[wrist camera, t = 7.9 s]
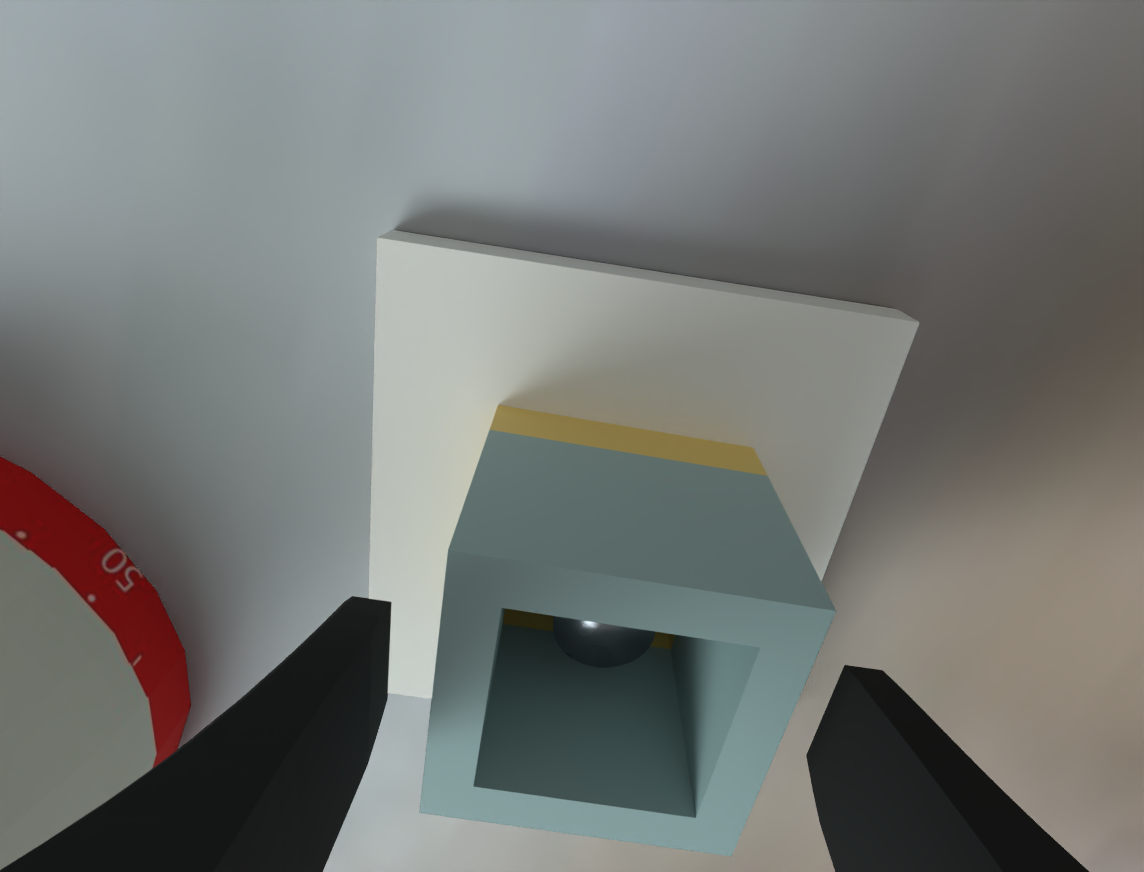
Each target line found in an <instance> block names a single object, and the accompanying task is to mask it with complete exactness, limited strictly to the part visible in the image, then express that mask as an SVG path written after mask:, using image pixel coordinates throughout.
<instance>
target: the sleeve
mask: <svg viewBox="0 0 1144 872" xmlns="http://www.w3.org/2000/svg"><path fill="white" fill-rule="evenodd" d="M835 612H836V610H835V608H834V606H833V604H832V602H831V600H830V598H829V596H828V594H827V592H826V590H825V588H824V586H823V584H822V582H821V580H820V578H819V576H818V574H817V572H816V570H815V568H814V567H813V565H812V563H811V561H810V559H809V557H808V555H807V553H806V551H805V549H804V547H803V545H802V543H801V541H800V539H799V537H798V535H797V533H796V531H795V529H794V527H793V525H792V523H791V521H790V519H789V517H788V515H787V513H786V511H785V509H784V507H783V505H782V503H781V501H780V499H779V497H778V495H777V493H776V491H775V489H774V487H773V485H772V484H771V482H770V480H769V478H768V476H767V474H766V472H765V470H764V468H763V466H762V464H761V462H760V460H759V458H758V456H757V454H756V452H755V450H754V448H752V447H746V446H741V445H735V444H729V443H723V442H717V441H711V440H705V439H699V438H693V437H687V436H681V435H675V434H669V433H663V432H657V431H651V430H645V429H639V428H633V427H627V426H621V425H615V424H609V423H604V422H598V421H592V420H586V419H580V418H574V417H568V416H562V415H556V414H550V413H544V412H538V411H532V410H526V409H520V408H514V407H508V406H502V405H498V406H497V409H496V412H495V415H494V418H493V421H492V424H491V427H490V430H489V432H488V435H487V438H486V441H485V444H484V447H483V450H482V453H481V456H480V459H479V461H478V464H477V467H476V470H475V473H474V476H473V479H472V482H471V485H470V488H469V490H468V493H467V496H466V499H465V502H464V505H463V508H462V511H461V514H460V517H459V519H458V522H457V525H456V528H455V531H454V534H453V537H452V540H451V543H450V546H449V548H448V554H447V563H446V573H445V582H444V591H443V600H442V609H441V618H440V628H439V637H438V646H437V655H436V664H435V673H434V683H433V692H432V701H431V710H430V719H429V728H428V738H427V747H426V756H425V765H424V774H423V783H422V792H421V802H420V811H419V813H424V814H432V815H439V816H446V817H453V818H460V819H468V820H475V821H482V822H489V823H496V824H503V825H511V826H518V827H525V828H532V829H539V830H547V831H554V832H561V833H568V834H575V835H583V836H590V837H597V838H604V839H611V840H618V841H626V842H633V843H640V844H647V845H654V846H662V847H669V848H676V849H683V850H690V851H698V852H705V853H712V854H719V855H726V856H732V853H733V851H734V849H735V846H736V844H737V842H738V839H739V837H740V835H741V832H742V830H743V828H744V825H745V823H746V821H747V818H748V816H749V814H750V811H751V809H752V806H753V804H754V802H755V799H756V797H757V795H758V792H759V790H760V788H761V785H762V783H763V781H764V778H765V776H766V774H767V771H768V769H769V767H770V764H771V762H772V760H773V757H774V755H775V753H776V750H777V748H778V746H779V743H780V741H781V739H782V736H783V734H784V732H785V729H786V727H787V725H788V722H789V720H790V718H791V715H792V713H793V711H794V708H795V706H796V704H797V701H798V699H799V697H800V694H801V692H802V690H803V687H804V685H805V683H806V680H807V678H808V676H809V673H810V671H811V668H812V666H813V664H814V661H815V659H816V657H817V654H818V652H819V650H820V647H821V645H822V643H823V640H824V638H825V636H826V633H827V631H828V629H829V626H830V624H831V622H832V619H833V617H834V615H835ZM554 616H558V617H564V618H571V619H577V620H584V621H590V622H597V623H603V624H610V625H616V626H623V627H629V628H636V629H642V630H649V631H655V637H654V639H653V642H652V644H651V645H650V647H649V648H648V649H647V650H646V652H645V653H644V654H642V655H641V656H640V657H639V658H637V659H635V660H634V661H632V662H629V663H627V664H624V665H621V666H616V667H594V666H589V665H585V664H582V663H580V662H578V661H576V660H574V659H572V658H571V657H569V656H568V655H567V654H566V653H565V652H564V651H563V650H562V649H561V648H560V647H559V645H558V643H557V641H556V639H555V636H554V632H553V620H554Z"/></svg>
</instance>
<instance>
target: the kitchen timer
mask: <svg viewBox="0 0 1144 872" xmlns="http://www.w3.org/2000/svg"><path fill="white" fill-rule="evenodd" d="M190 707H191V701H190V692H189V683H188V674H187V665H186V656H185V650H184V648H183V646H182V644H181V642H180V640H179V638H178V635H177V633H176V631H175V629H174V627H173V625H172V623H171V621H170V619H169V617H168V614H167V612H166V610H165V608H164V606H163V604H162V602H161V600H160V598H159V596H158V593H157V591H156V590H155V589H154V587H153V586H152V585H151V584H150V583H149V582H148V580H147V579H146V578H145V577H144V576H143V574H142V573H141V572H140V571H139V570H138V569H137V567H136V566H135V565H134V564H133V563H132V561H131V560H130V559H129V558H128V557H127V555H126V554H125V553H124V552H123V551H122V550H121V548H120V547H119V546H118V545H117V544H116V542H115V541H114V540H113V539H112V538H111V537H110V535H109V534H108V533H107V532H106V531H105V529H104V528H102V527H101V526H100V525H98V524H97V523H96V522H95V521H93V520H92V519H91V518H89V517H88V516H87V515H85V514H84V513H83V512H82V511H80V510H79V509H78V508H76V507H75V506H74V505H73V504H71V503H70V502H69V501H67V500H66V499H65V498H63V497H62V496H61V495H60V494H58V493H57V492H56V491H54V490H53V489H52V488H51V487H49V486H48V485H47V484H45V483H44V482H43V481H41V480H40V479H39V478H38V477H36V476H35V475H34V474H32V473H31V472H29V471H27V470H25V469H23V468H21V467H19V466H17V465H15V464H13V463H11V462H9V461H8V460H6V459H4V458H2V457H0V870H1V869H2V868H4V867H5V866H7V865H9V864H10V863H12V862H14V861H15V860H17V859H18V858H20V857H22V856H23V855H25V854H26V853H28V852H30V851H31V850H33V849H34V848H36V847H38V846H39V845H41V844H42V843H44V842H45V841H47V840H49V839H50V838H52V837H53V836H55V835H56V834H58V833H59V832H61V831H62V830H64V829H65V828H67V827H68V826H70V825H71V824H73V823H74V822H76V821H77V820H79V819H80V818H82V817H83V816H85V815H86V814H88V813H90V812H91V811H93V810H94V809H96V808H97V807H99V806H100V805H102V804H103V803H105V802H106V801H107V800H109V799H110V798H112V797H113V796H115V795H116V794H117V793H119V792H120V791H122V790H123V789H125V788H126V787H127V786H129V785H130V784H132V783H133V782H134V781H136V780H137V779H139V778H140V777H141V776H143V775H144V774H146V773H147V772H148V771H150V770H151V769H152V768H154V767H155V766H157V765H158V764H159V763H161V762H162V761H163V760H165V759H166V758H167V757H169V756H170V755H171V754H172V753H174V752H175V751H176V750H177V748H178V745H179V742H180V738H181V735H182V732H183V729H184V726H185V723H186V719H187V716H188V713H189V710H190Z"/></svg>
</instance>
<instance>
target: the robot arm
mask: <svg viewBox="0 0 1144 872" xmlns="http://www.w3.org/2000/svg"><path fill="white" fill-rule="evenodd" d="M391 603H392V602H389V601H382V600H375V599H368V598H361V597H354V596H352V597H351V598H349V599H348V600H346V601H345V602H344V603H343V604H342V605H341V606H340V607H339V608H338V609H337V610H336V611H335V612H334V613H333V614H332V615H331V616H330V617H329V618H328V619H327V620H326V621H325V622H324V623H323V624H322V625H321V626H320V627H319V628H318V629H317V630H316V631H315V632H314V633H312V634H311V635H310V636H309V637H308V638H307V639H306V640H305V641H304V642H303V643H302V644H301V645H300V646H299V647H298V648H297V649H296V650H295V651H293V652H292V653H291V654H290V655H289V656H288V657H287V658H286V659H285V660H284V661H283V662H282V663H280V664H279V665H278V666H277V667H276V668H275V669H274V670H273V671H271V672H270V673H269V674H268V675H267V676H266V677H265V678H264V679H262V680H261V681H260V682H259V683H258V684H257V685H256V686H255V687H254V688H252V689H251V690H250V691H249V692H248V693H247V694H246V695H244V696H243V697H242V698H241V699H240V700H239V701H237V702H236V703H235V704H234V705H232V706H231V707H230V708H229V709H228V710H226V711H225V712H224V713H223V714H221V715H220V716H219V717H218V718H216V719H215V720H214V721H213V722H212V723H210V724H209V725H208V726H207V727H205V728H204V729H203V730H202V731H200V732H199V733H198V734H197V735H196V736H194V737H193V738H192V739H191V740H189V741H188V742H187V743H186V744H184V745H183V746H182V747H180V748H179V749H178V750H176V751H175V752H174V753H172V754H171V755H170V756H169V757H167V758H166V759H165V760H163V761H162V762H161V763H159V764H158V765H157V766H155V767H154V768H152V769H151V770H150V771H148V772H147V773H146V774H144V775H143V776H141V777H140V778H139V779H137V780H136V781H134V782H133V783H132V784H130V785H129V786H127V787H126V788H125V789H123V790H122V791H120V792H119V793H117V794H116V795H115V796H113V797H112V798H110V799H109V800H107V801H106V802H105V803H103V804H102V805H100V806H99V807H97V808H96V809H94V810H93V811H91V812H90V813H88V814H86V815H85V816H83V817H82V818H80V819H79V820H77V821H76V822H74V823H73V824H71V825H70V826H68V827H67V828H65V829H64V830H62V831H61V832H59V833H58V834H56V835H55V836H53V837H52V838H50V839H49V840H47V841H45V842H44V843H42V844H41V845H39V846H38V847H36V848H34V849H33V850H31V851H30V852H28V853H26V854H25V855H23V856H22V857H20V858H18V859H17V860H15V861H14V862H12V863H10V864H9V865H7V866H5V867H4V868H2V869H1V870H0V872H323V869H324V867H325V865H326V862H327V860H328V858H329V855H330V853H331V851H332V848H333V846H334V843H335V841H336V839H337V836H338V834H339V832H340V829H341V827H342V825H343V822H344V820H345V817H346V815H347V813H348V810H349V808H350V806H351V803H352V801H353V798H354V796H355V794H356V791H357V789H358V786H359V784H360V782H361V779H362V777H363V774H364V772H365V769H366V767H367V765H368V762H369V758H370V755H371V752H372V749H373V746H374V742H375V739H376V736H377V733H378V729H379V726H380V722H381V719H382V716H383V712H384V709H385V705H386V702H387V697H388V674H389V650H390V626H391ZM806 756H807V761H808V767H809V772H810V777H811V783H812V788H813V793H814V798H815V802H816V807H817V812H818V816H819V821H820V825H821V828H822V831H823V834H824V838H825V841H826V844H827V847H828V850H829V853H830V856H831V859H832V862H833V866H834V869H835V872H1089V871H1088V870H1087V869H1086V868H1085V867H1083V866H1082V865H1081V864H1080V863H1079V862H1078V861H1077V860H1076V859H1075V858H1074V857H1073V856H1072V855H1070V854H1069V853H1068V852H1067V851H1066V850H1065V849H1064V848H1063V847H1062V846H1061V845H1060V844H1058V843H1057V842H1056V841H1055V840H1054V839H1053V838H1052V837H1051V836H1050V835H1049V834H1048V833H1047V832H1045V831H1044V830H1043V829H1042V828H1041V827H1040V826H1039V825H1038V824H1037V823H1036V822H1035V821H1034V820H1033V819H1032V818H1031V817H1030V816H1028V815H1027V814H1026V813H1025V812H1024V811H1023V810H1022V809H1021V808H1020V807H1019V806H1018V805H1017V804H1016V803H1015V802H1014V801H1013V800H1012V799H1011V798H1010V797H1009V796H1008V795H1007V794H1006V793H1005V792H1004V791H1003V790H1002V789H1001V788H1000V787H999V786H998V785H997V784H996V783H995V782H994V781H993V780H992V779H991V778H990V777H988V776H987V775H986V774H985V773H984V772H983V771H982V770H981V769H980V768H979V767H978V766H977V765H976V764H975V763H974V762H973V760H972V759H971V758H970V757H969V756H968V755H967V754H966V753H965V752H964V751H963V750H962V749H961V748H960V747H959V746H958V745H957V744H956V743H955V742H954V741H953V740H952V739H951V738H950V737H949V736H948V735H947V734H946V733H945V732H944V731H943V730H942V729H941V728H940V727H939V726H938V725H937V724H936V723H935V722H934V721H933V720H932V719H931V718H930V717H929V716H928V715H927V714H926V713H925V712H924V711H923V710H922V709H921V708H920V707H919V706H918V705H917V704H916V703H915V702H914V700H913V699H912V698H911V697H910V696H909V695H908V694H907V693H906V692H905V691H904V690H902V689H901V688H900V687H899V686H898V685H897V684H896V683H895V682H894V681H893V680H892V679H891V678H890V677H889V676H888V675H887V674H886V673H885V672H884V671H882V670H876V669H869V668H862V667H855V666H848V665H845V666H844V668H843V670H842V673H841V675H840V677H839V680H838V682H837V684H836V687H835V689H834V692H833V694H832V696H831V699H830V701H829V703H828V706H827V708H826V710H825V713H824V715H823V717H822V720H821V722H820V725H819V727H818V729H817V732H816V734H815V736H814V739H813V741H812V743H811V746H810V748H809V751H808V753H807V755H806Z"/></svg>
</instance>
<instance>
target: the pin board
mask: <svg viewBox="0 0 1144 872" xmlns="http://www.w3.org/2000/svg"><path fill="white" fill-rule="evenodd" d="M919 323H920V322H918V321H916V320H915V319H913V318H911V317H910V316H908V315H906V314H905V313H903V312H901V311H899V310H898V309H893V308H887V307H880V306H874V305H868V304H861V303H855V302H848V301H842V300H836V299H829V298H823V297H817V296H810V295H804V294H798V293H791V292H785V291H778V290H772V289H766V288H759V287H753V286H747V285H740V284H734V283H727V282H721V281H715V280H708V279H702V278H696V277H689V276H683V275H676V274H670V273H664V272H657V271H651V270H645V269H638V268H632V267H625V266H619V265H613V264H606V263H600V262H594V261H587V260H581V259H574V258H568V257H562V256H555V255H549V254H543V253H536V252H530V251H523V250H517V249H511V248H504V247H498V246H492V245H485V244H479V243H472V242H466V241H460V240H453V239H447V238H441V237H434V236H428V235H422V234H415V233H409V232H402V231H396V230H391V231H389V232H387V233H385V234H383V235H381V236H379V237H377V263H376V306H375V348H374V391H373V434H372V477H371V519H370V562H369V599H375V600H382V601H389V602H392V603H391V626H390V650H389V674H388V693H391V694H399V695H406V696H414V697H421V698H429V699H432V692H433V683H434V673H435V664H436V655H437V646H438V637H439V628H440V618H441V609H442V600H443V591H444V582H445V573H446V563H447V554H448V548H449V546H450V543H451V540H452V537H453V534H454V531H455V528H456V525H457V522H458V519H459V517H460V514H461V511H462V508H463V505H464V502H465V499H466V496H467V493H468V490H469V488H470V485H471V482H472V479H473V476H474V473H475V470H476V467H477V464H478V461H479V459H480V456H481V453H482V450H483V447H484V444H485V441H486V438H487V435H488V432H489V430H490V427H491V424H492V421H493V418H494V415H495V412H496V409H497V406H498V405H502V406H508V407H514V408H520V409H526V410H532V411H538V412H544V413H550V414H556V415H562V416H568V417H574V418H580V419H586V420H592V421H598V422H604V423H609V424H615V425H621V426H627V427H633V428H639V429H645V430H651V431H657V432H663V433H669V434H675V435H681V436H687V437H693V438H699V439H705V440H711V441H717V442H723V443H729V444H735V445H741V446H746V447H752V448H754V450H755V452H756V454H757V456H758V458H759V460H760V462H761V464H762V466H763V468H764V470H765V472H766V474H767V476H768V478H769V480H770V482H771V484H772V485H773V487H774V489H775V491H776V493H777V495H778V497H779V499H780V501H781V503H782V505H783V507H784V509H785V511H786V513H787V515H788V517H789V519H790V521H791V523H792V525H793V527H794V529H795V531H796V533H797V535H798V537H799V539H800V541H801V543H802V545H803V547H804V549H805V551H806V553H807V555H808V557H809V559H810V561H811V563H812V565H813V567H814V568H815V570H816V572H817V574H818V576H819V578H820V580H821V582H822V579H823V576H824V574H825V571H826V568H827V566H828V563H829V560H830V558H831V555H832V553H833V550H834V547H835V545H836V542H837V539H838V537H839V534H840V531H841V529H842V526H843V524H844V521H845V518H846V516H847V513H848V510H849V508H850V505H851V502H852V500H853V497H854V495H855V492H856V489H857V487H858V484H859V481H860V479H861V476H862V473H863V471H864V468H865V466H866V463H867V460H868V458H869V455H870V452H871V450H872V447H873V444H874V442H875V439H876V437H877V434H878V431H879V429H880V426H881V423H882V421H883V418H884V415H885V413H886V410H887V407H888V405H889V402H890V400H891V397H892V394H893V392H894V389H895V386H896V384H897V381H898V378H899V376H900V373H901V371H902V368H903V365H904V363H905V360H906V357H907V355H908V352H909V349H910V347H911V344H912V342H913V339H914V336H915V334H916V331H917V328H918V326H919ZM553 632H554V636H555V639H556V641H557V643H558V645H559V647H560V648H561V649H562V650H563V651H564V652H565V653H566V654H567V655H568V656H569V657H571V658H572V659H574V660H576V661H578V662H580V663H582V664H585V665H589V666H594V667H616V666H621V665H624V664H627V663H629V662H632V661H634V660H635V659H637V658H639V657H640V656H641V655H642V654H644V653H645V652H646V650H647V649H648V648H649V647H650V645H651V644H652V642H653V639H654V637H655V631H649V630H642V629H636V628H629V627H623V626H616V625H610V624H603V623H597V622H590V621H584V620H577V619H571V618H564V617H558V616H554V620H553Z"/></svg>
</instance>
